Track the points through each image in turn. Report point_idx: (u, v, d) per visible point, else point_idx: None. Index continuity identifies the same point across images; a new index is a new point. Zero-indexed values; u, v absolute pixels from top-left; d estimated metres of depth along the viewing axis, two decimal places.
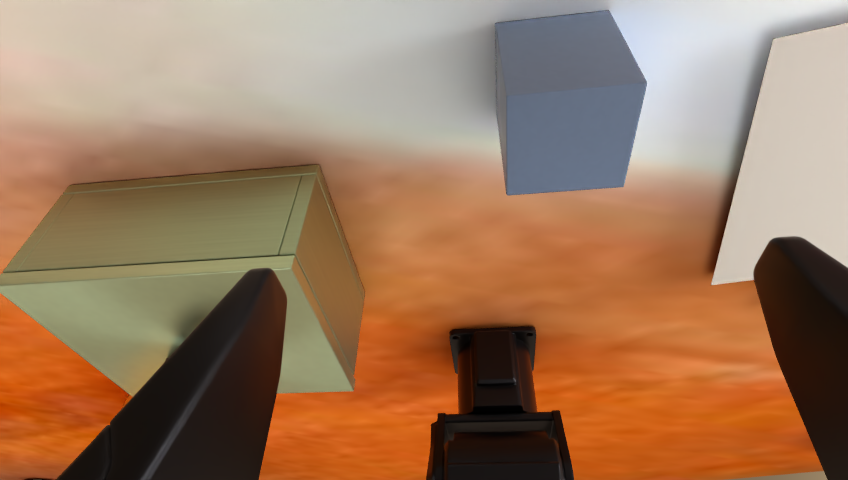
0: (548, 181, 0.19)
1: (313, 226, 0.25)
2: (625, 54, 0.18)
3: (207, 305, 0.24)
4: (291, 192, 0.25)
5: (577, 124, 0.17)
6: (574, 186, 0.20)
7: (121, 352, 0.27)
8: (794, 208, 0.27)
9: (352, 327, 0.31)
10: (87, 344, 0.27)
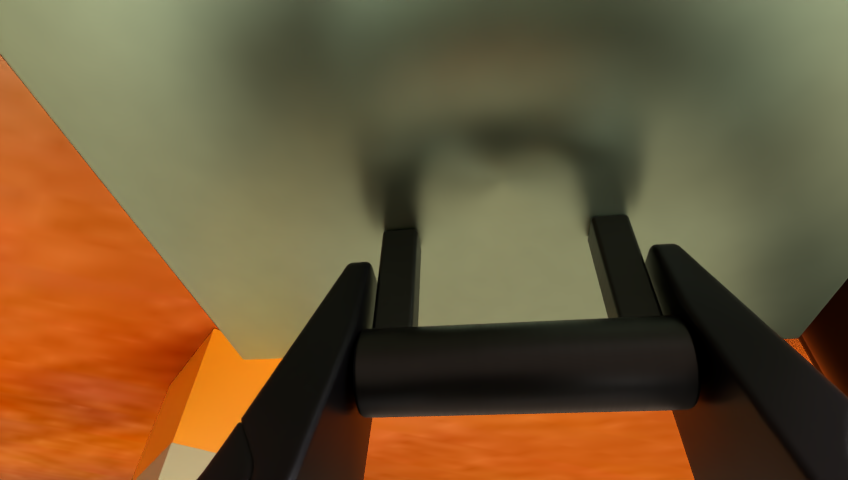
0: None
1: None
2: None
3: None
4: None
5: None
6: None
7: (259, 212, 0.10)
8: None
9: None
10: (166, 179, 0.09)
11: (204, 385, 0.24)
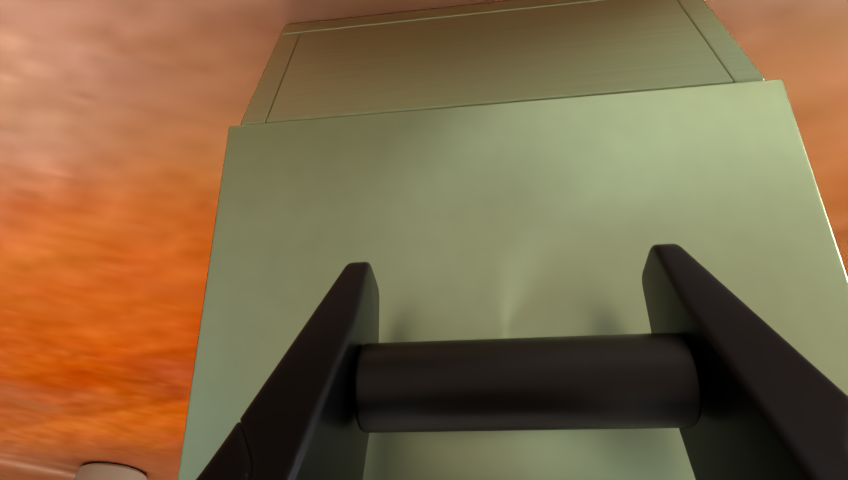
0: None
1: None
2: None
3: (591, 176, 0.12)
4: (676, 11, 0.16)
5: None
6: None
7: None
8: None
9: None
10: (250, 311, 0.12)
11: None
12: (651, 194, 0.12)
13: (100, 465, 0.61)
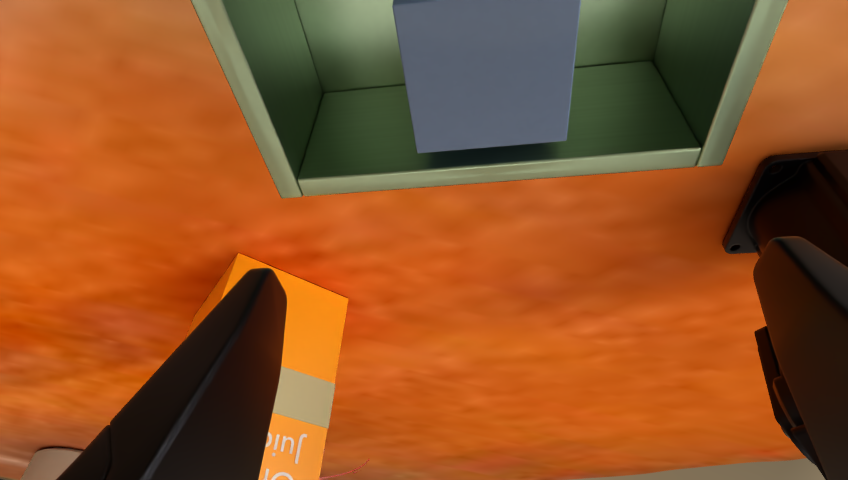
0: (549, 95, 0.14)
1: None
2: None
3: None
4: None
5: (455, 76, 0.14)
6: (566, 59, 0.13)
7: None
8: None
9: None
10: None
11: None
12: None
13: (56, 450, 0.55)
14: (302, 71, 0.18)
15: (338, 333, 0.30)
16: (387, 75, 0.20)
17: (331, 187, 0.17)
